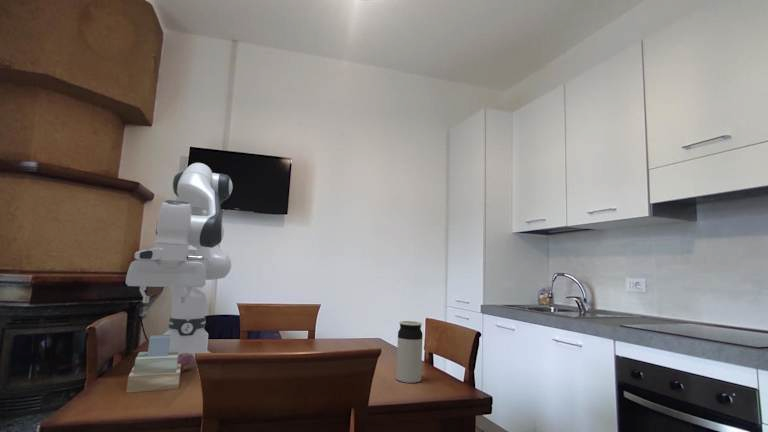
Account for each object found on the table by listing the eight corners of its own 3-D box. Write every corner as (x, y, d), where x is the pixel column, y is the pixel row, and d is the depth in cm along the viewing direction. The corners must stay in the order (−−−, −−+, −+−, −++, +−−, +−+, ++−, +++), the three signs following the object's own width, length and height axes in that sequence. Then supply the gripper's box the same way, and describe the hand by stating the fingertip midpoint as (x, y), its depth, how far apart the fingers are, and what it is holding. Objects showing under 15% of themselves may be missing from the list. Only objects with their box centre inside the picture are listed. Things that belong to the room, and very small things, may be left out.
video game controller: (168, 381, 117) (180, 360, 118) (157, 373, 118) (168, 352, 119) (190, 373, 127) (200, 354, 127) (179, 366, 128) (190, 347, 128)
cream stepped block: (131, 380, 112) (135, 351, 113) (179, 377, 117) (182, 349, 118) (126, 392, 101) (130, 360, 102) (178, 388, 106) (181, 357, 107)
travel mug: (412, 385, 120) (414, 324, 123) (391, 379, 125) (393, 321, 127) (425, 380, 126) (427, 322, 129) (405, 375, 131) (407, 320, 134)
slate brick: (148, 353, 111) (151, 335, 112) (168, 352, 113) (170, 334, 114) (147, 356, 107) (149, 337, 108) (168, 355, 109) (170, 337, 110)
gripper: (208, 256, 121) (203, 301, 120) (131, 252, 112) (124, 301, 111) (209, 256, 116) (204, 304, 114) (128, 252, 107) (121, 304, 105)
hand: (164, 302), depth 112 cm, fingers open, 8 cm apart
